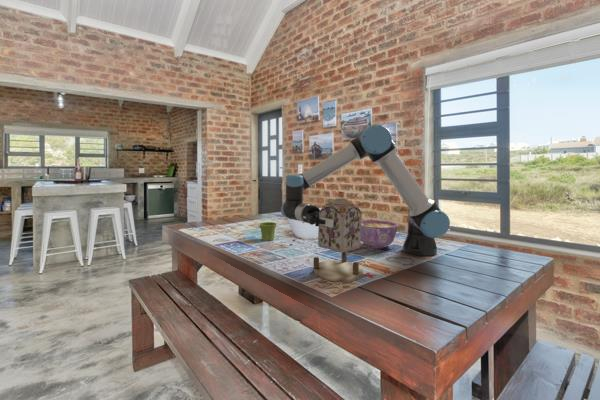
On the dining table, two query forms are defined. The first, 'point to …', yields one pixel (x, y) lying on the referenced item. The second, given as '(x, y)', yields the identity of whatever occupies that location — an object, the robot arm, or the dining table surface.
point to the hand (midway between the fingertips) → (346, 221)
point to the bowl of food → (378, 233)
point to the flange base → (338, 269)
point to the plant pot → (268, 230)
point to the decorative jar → (340, 226)
